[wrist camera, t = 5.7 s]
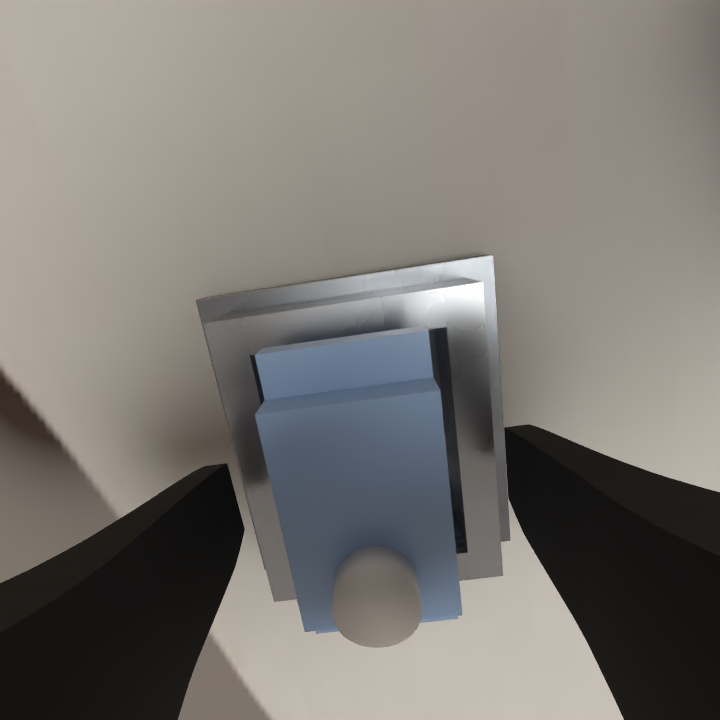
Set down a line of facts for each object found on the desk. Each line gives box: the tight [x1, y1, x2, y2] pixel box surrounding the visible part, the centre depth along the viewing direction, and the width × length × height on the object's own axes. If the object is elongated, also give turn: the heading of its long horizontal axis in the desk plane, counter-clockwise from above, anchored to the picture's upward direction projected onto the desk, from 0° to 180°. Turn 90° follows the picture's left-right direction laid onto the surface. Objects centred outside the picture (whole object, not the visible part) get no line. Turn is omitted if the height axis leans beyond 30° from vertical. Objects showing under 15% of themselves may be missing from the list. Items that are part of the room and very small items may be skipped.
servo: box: [255, 326, 462, 647], centre depth 10 cm, size 4×7×6 cm, turn 8°
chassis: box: [196, 255, 510, 602], centre depth 13 cm, size 9×10×3 cm
